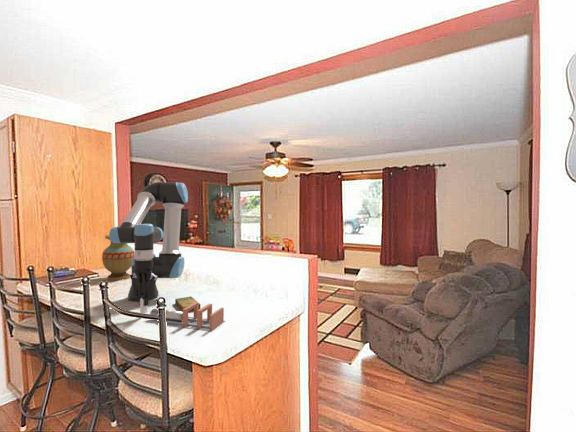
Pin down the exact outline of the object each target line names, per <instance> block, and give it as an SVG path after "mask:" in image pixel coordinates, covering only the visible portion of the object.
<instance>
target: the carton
mask: <svg viewBox="0 0 576 432" xmlns="http://www.w3.org/2000/svg"><path fill="white" fill-rule="evenodd" d="M174 302H175V306H176V307H178V309H179V310H180V312H183V309H184V308H186V307H188V306H189V305H191V304H193V303H195V302H198V301H197V300H196V299H195V298H194V297H193V296H191V295H190V296H185V297H179V298H175V301H174ZM199 309H201V304H200V303H199ZM191 312H194V308H193V309H191V310H189V311H188V313H191Z"/></svg>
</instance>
